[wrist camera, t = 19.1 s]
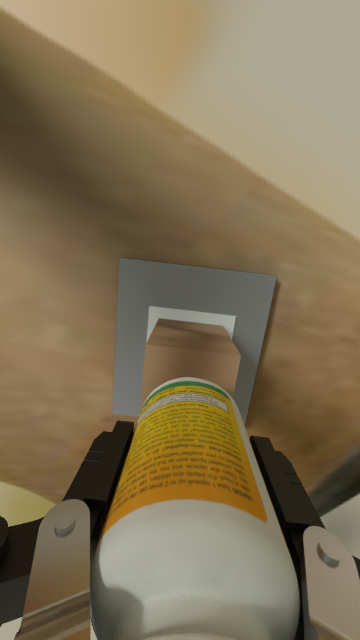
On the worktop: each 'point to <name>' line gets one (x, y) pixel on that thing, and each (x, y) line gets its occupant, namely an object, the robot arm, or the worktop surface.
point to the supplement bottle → (192, 530)
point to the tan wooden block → (189, 355)
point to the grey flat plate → (186, 319)
